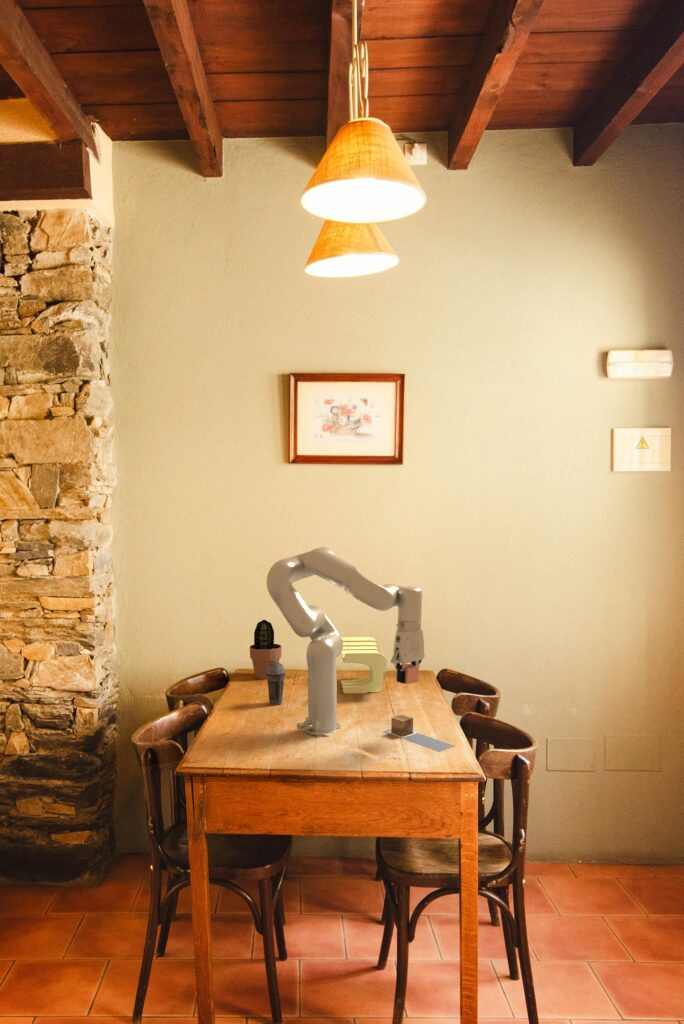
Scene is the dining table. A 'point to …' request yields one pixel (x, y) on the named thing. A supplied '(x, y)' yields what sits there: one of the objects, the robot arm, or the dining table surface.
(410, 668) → the red block
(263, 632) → the potted plant
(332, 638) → the robot arm
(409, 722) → the walnut block
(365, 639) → the slatted curved stool
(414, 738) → the blueprint mat
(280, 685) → the beverage cup
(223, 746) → the dining table surface
